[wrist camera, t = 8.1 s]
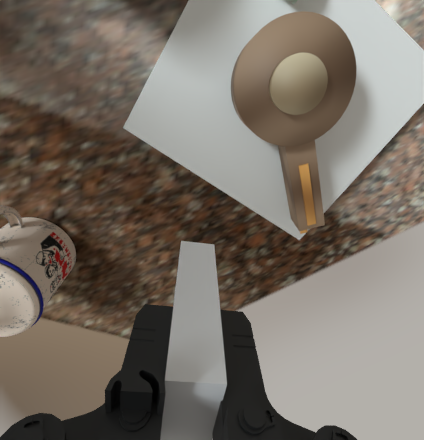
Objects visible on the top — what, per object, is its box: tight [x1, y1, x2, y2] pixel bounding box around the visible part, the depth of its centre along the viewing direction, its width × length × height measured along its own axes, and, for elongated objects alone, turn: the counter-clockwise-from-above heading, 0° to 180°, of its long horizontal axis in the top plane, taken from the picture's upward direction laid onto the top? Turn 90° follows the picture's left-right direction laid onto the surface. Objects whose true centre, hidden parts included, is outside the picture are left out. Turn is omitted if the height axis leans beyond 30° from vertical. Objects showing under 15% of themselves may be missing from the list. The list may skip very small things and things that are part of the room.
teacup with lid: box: [0, 206, 76, 337], centre depth 27 cm, size 12×9×12 cm
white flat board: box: [123, 0, 424, 240], centre depth 25 cm, size 22×20×4 cm
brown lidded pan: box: [231, 11, 356, 231], centre depth 24 cm, size 18×9×5 cm, turn 16°
